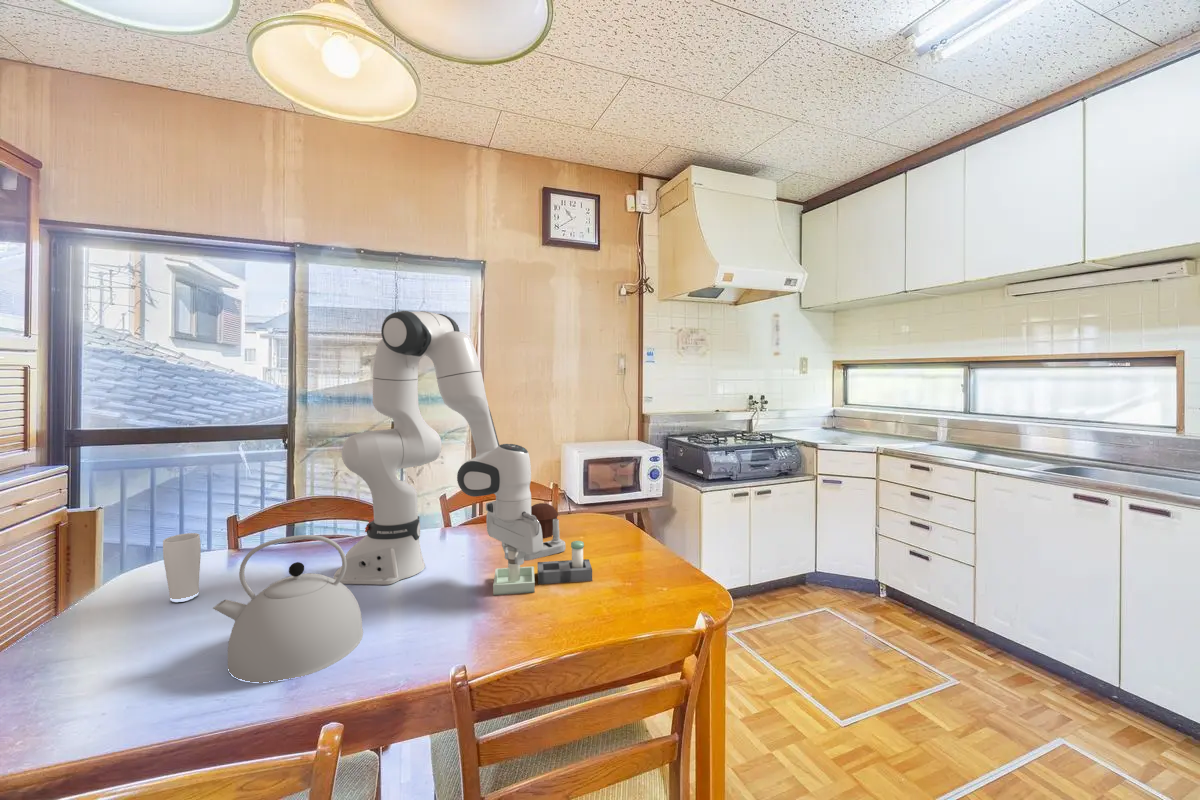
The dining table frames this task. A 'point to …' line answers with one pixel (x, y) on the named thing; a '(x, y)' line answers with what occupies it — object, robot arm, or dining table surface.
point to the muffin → (545, 517)
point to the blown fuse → (513, 565)
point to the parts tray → (521, 586)
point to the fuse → (577, 554)
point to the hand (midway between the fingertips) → (514, 561)
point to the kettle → (292, 623)
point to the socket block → (563, 572)
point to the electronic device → (550, 544)
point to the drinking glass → (182, 564)
